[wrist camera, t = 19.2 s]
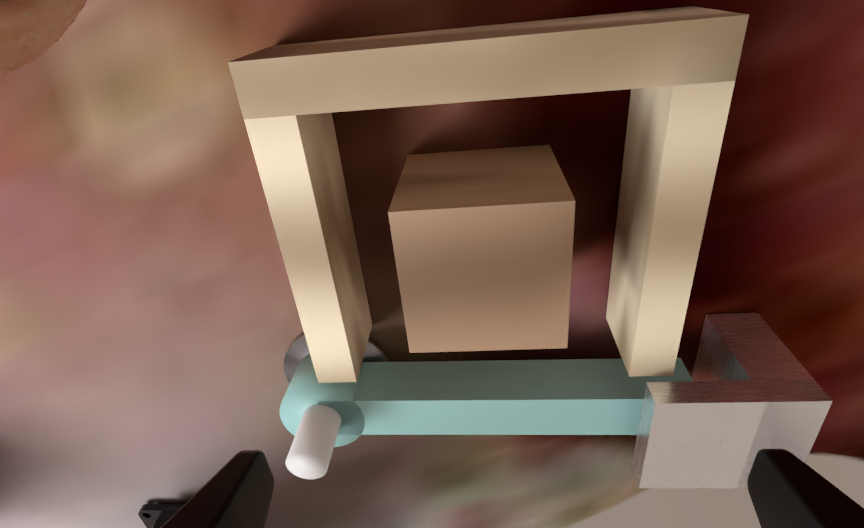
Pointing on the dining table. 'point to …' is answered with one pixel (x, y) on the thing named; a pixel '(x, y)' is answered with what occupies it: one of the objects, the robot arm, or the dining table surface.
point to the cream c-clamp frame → (491, 80)
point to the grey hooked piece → (710, 407)
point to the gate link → (460, 402)
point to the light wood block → (484, 249)
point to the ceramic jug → (32, 28)
